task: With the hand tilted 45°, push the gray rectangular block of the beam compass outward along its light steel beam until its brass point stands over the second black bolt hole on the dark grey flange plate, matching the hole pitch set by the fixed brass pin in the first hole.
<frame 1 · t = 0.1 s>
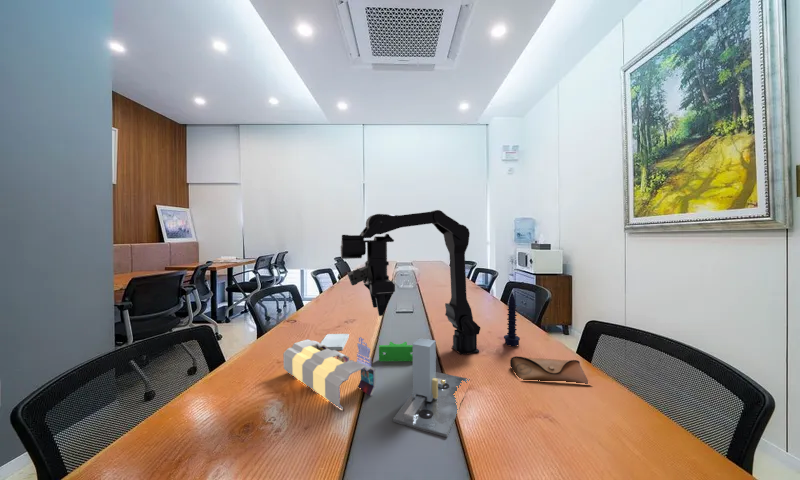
hand: (377, 311, 85), 15 cm above the table, tool pointing down, fingers open, 9 cm apart
diorama: (326, 385, 73), on the table
gray rectangular block: (426, 369, 66), point 7 cm above the table, slide at 0.0 cm
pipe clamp: (398, 359, 87), on the table
sunglasses case: (549, 378, 76), on the table
screw: (511, 344, 98), on the table
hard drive: (334, 345, 100), on the table
flange plate: (436, 399, 66), on the table
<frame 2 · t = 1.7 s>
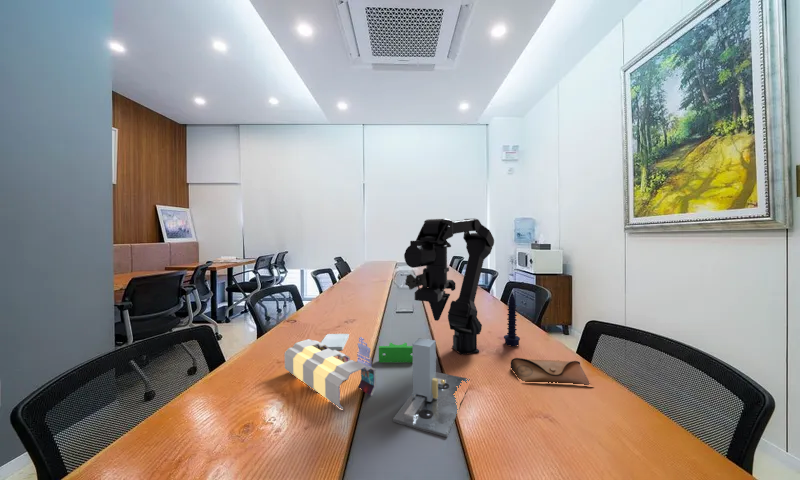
hand: (436, 320, 82), 13 cm above the table, tool pointing down, fingers closed
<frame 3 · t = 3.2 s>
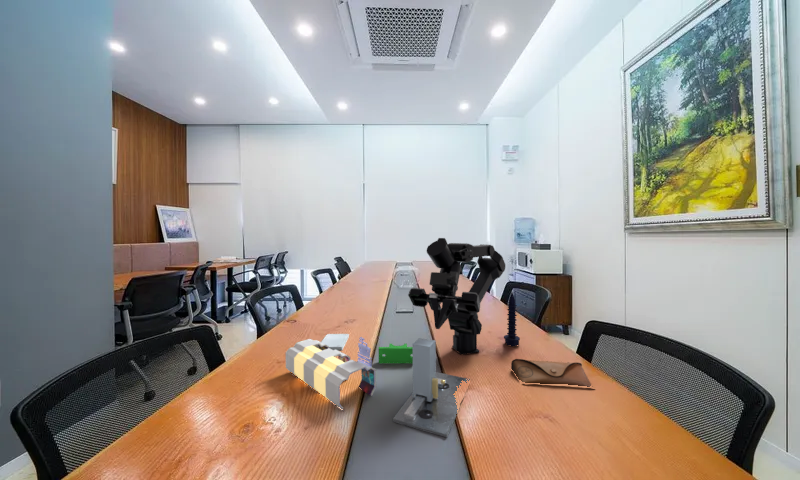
hand: (436, 328, 74), 13 cm above the table, tool tilted 45°, fingers closed
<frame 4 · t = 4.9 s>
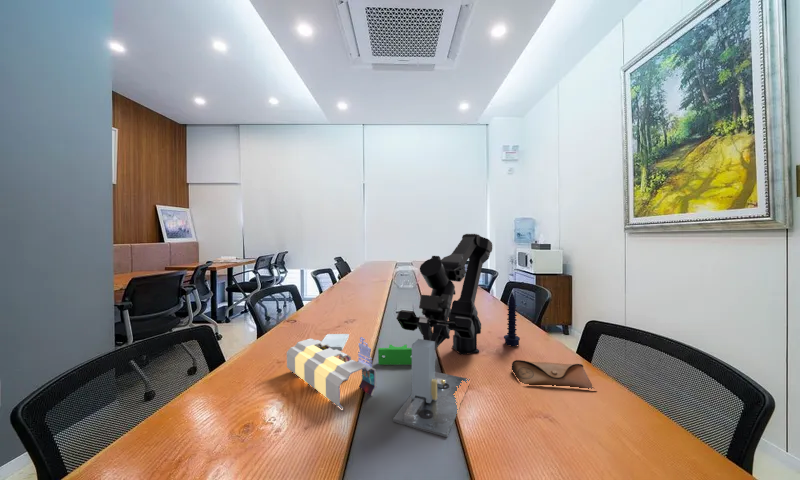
hand: (426, 357, 67), 9 cm above the table, tool tilted 45°, fingers closed, pressing on gray rectangular block
gray rectangular block: (425, 370, 65), point 7 cm above the table, slide at 0.5 cm, touching gripper
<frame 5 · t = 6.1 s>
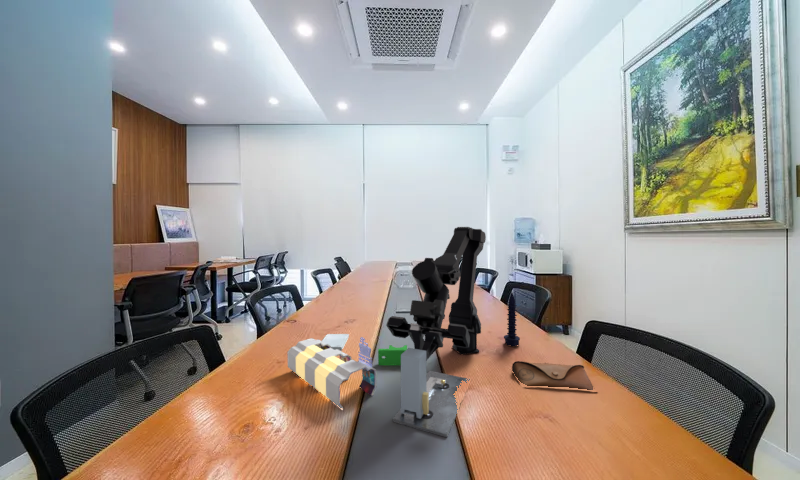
hand: (417, 368, 62), 9 cm above the table, tool tilted 45°, fingers closed, pressing on gray rectangular block
gray rectangular block: (415, 382, 60), point 7 cm above the table, slide at 6.2 cm, touching gripper
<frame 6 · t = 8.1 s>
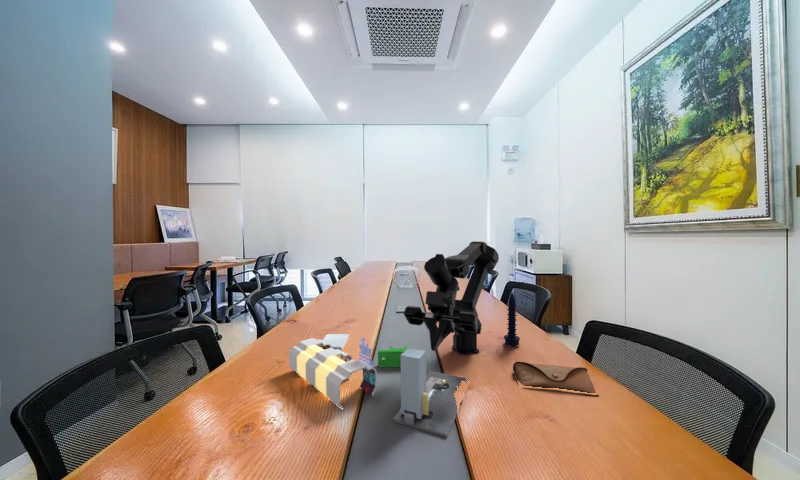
hand: (433, 350, 71), 9 cm above the table, tool tilted 45°, fingers closed
gray rectangular block: (415, 382, 60), point 7 cm above the table, slide at 6.3 cm
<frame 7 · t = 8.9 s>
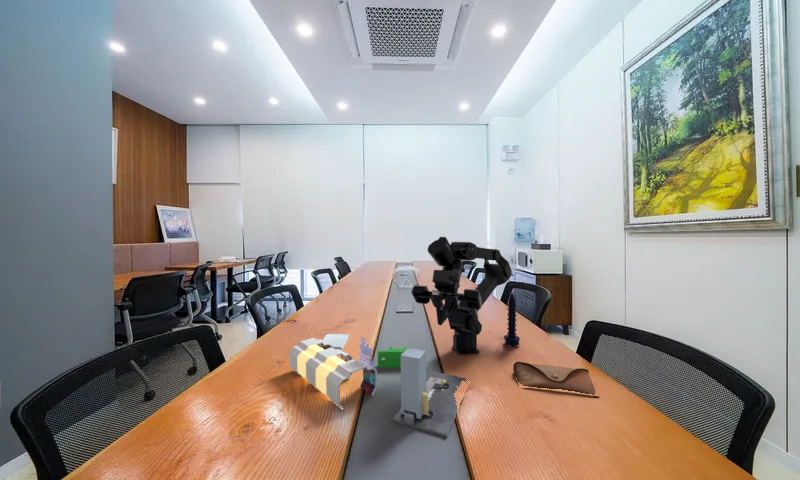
hand: (439, 324, 76), 14 cm above the table, tool tilted 45°, fingers closed
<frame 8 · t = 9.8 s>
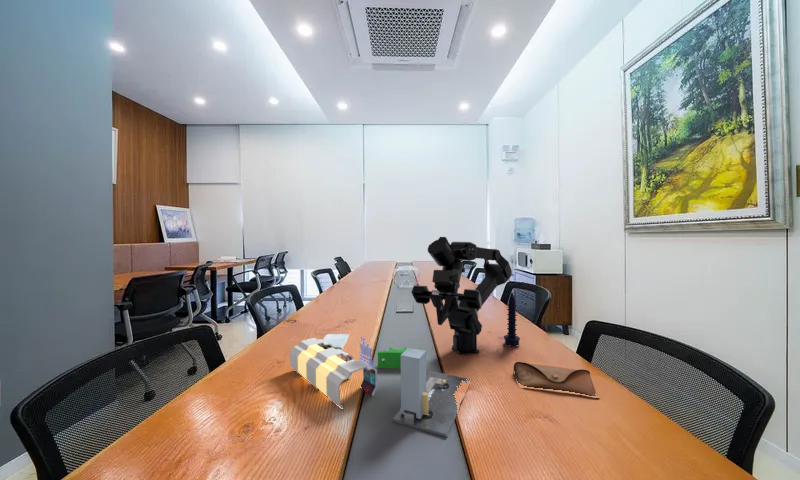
hand: (439, 324, 76), 14 cm above the table, tool tilted 45°, fingers closed
at the end: gray rectangular block slide at 6.3 cm; gray rectangular block 0.4 cm from the target spot, resting on flange plate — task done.
